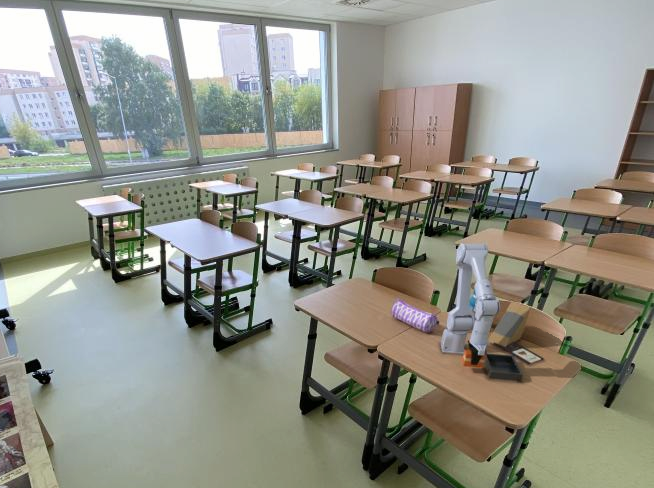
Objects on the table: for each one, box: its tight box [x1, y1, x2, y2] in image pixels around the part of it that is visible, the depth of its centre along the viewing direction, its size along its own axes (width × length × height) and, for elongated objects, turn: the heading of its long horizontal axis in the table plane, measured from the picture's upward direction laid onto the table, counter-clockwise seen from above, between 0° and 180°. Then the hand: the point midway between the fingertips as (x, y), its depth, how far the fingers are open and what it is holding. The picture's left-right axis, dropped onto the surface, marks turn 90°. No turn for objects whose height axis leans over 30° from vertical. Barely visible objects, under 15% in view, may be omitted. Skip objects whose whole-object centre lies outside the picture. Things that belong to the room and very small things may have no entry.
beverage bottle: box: [465, 287, 477, 333], centre depth 179 cm, size 8×8×20 cm
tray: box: [483, 352, 524, 382], centre depth 154 cm, size 12×14×4 cm
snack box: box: [461, 349, 486, 369], centre depth 151 cm, size 7×3×5 cm, turn 82°
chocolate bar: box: [492, 342, 544, 365], centre depth 167 cm, size 9×1×18 cm
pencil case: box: [391, 297, 440, 334], centre depth 184 cm, size 22×9×10 cm, turn 42°
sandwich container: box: [487, 301, 531, 347], centre depth 172 cm, size 9×15×15 cm, turn 130°
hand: (472, 361), depth 151 cm, fingers closed on snack box, 3 cm apart
